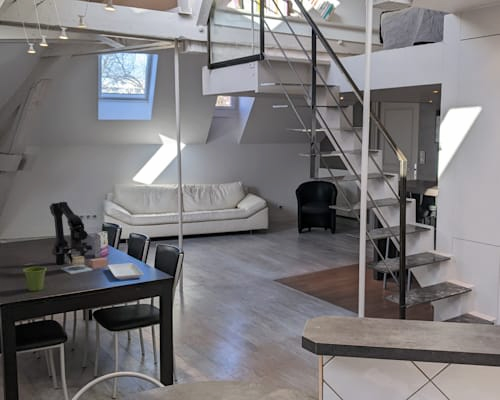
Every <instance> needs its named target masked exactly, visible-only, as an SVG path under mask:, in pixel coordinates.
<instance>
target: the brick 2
mask: <svg viewBox="0 0 500 400" xmlns="http://www.w3.org/2000/svg"><path fill="white" fill-rule="evenodd" d="M88 264H89V268H92V269H93V270H95V269H100V268H101V269H102V268H107V267H108V265H109V258H107V257H106V256H104V257H102V258H92V259H91V258H90V259H89V263H88ZM108 268H109V267H108Z"/></svg>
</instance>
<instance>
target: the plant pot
mask: <svg viewBox="0 0 500 400" xmlns="http://www.w3.org/2000/svg"><path fill="white" fill-rule="evenodd" d="M47 269H48V268H47V267H45V266H32V267H26V268H23V270H22V271H23V272H24V275H25V277H26V278H25V279H26V284H27V289H28V291H30V292H35V291H41V290H43V288H44V282H45V274H46V271H47Z"/></svg>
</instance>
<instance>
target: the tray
mask: <svg viewBox="0 0 500 400" xmlns="http://www.w3.org/2000/svg"><path fill="white" fill-rule="evenodd" d="M108 269H109V271H110V272H111V274H112V275H113V277H114V278H116V279H117V280H119V281H123V280H124V281H125V280H134V279H135V280H136V279H139V278H140V277H142V276H144V272H143V271H142V270H141V269H140V268H139V267H138V265H136V264H135V263H134V262H129V263H127V262H125V263H114V264H108Z"/></svg>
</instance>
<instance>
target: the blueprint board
mask: <svg viewBox="0 0 500 400" xmlns="http://www.w3.org/2000/svg"><path fill="white" fill-rule="evenodd" d="M60 269H61V270H62V271H64V272H66V273H68V274H70V275H72V274H79V273H80V274H81V273H83V272H84V273H85V272H91V271H94V269H93V268H91V267H90V266H88V265H81V266H73V265H71V266H65V267H60Z"/></svg>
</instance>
